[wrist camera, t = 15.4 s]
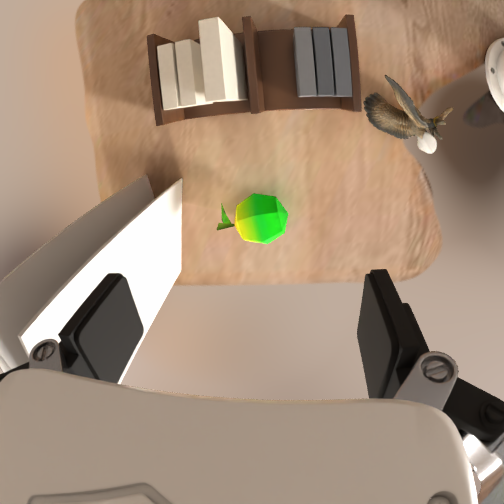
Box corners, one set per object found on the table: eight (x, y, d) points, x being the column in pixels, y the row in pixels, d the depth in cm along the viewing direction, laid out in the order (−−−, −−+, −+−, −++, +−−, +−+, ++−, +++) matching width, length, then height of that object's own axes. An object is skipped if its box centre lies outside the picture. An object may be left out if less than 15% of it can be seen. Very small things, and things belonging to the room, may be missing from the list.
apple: (288, 226, 32) (208, 244, 34) (296, 248, 38) (227, 262, 40) (277, 172, 35) (205, 191, 37) (287, 199, 41) (223, 214, 43)
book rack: (340, 31, 28) (353, 14, 21) (346, 109, 32) (361, 112, 25) (173, 45, 30) (146, 35, 23) (181, 119, 35) (156, 126, 28)
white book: (242, 44, 29) (218, 16, 18) (247, 99, 32) (226, 99, 21) (228, 45, 29) (197, 20, 18) (234, 101, 32) (205, 102, 21)
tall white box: (144, 174, 39) (-31, 309, 12) (182, 177, 39) (20, 336, 12) (147, 264, 46) (41, 426, 19) (181, 270, 45) (89, 449, 19)
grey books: (335, 40, 28) (346, 27, 21) (340, 96, 31) (352, 96, 25) (292, 40, 28) (294, 26, 22) (297, 97, 31) (300, 95, 25)
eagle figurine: (440, 88, 28) (380, 61, 26) (464, 125, 25) (401, 95, 23) (412, 129, 35) (355, 109, 33) (429, 167, 31) (368, 147, 30)
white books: (208, 48, 30) (190, 38, 23) (213, 103, 33) (196, 104, 27) (179, 53, 30) (156, 46, 24) (185, 107, 33) (163, 110, 27)
